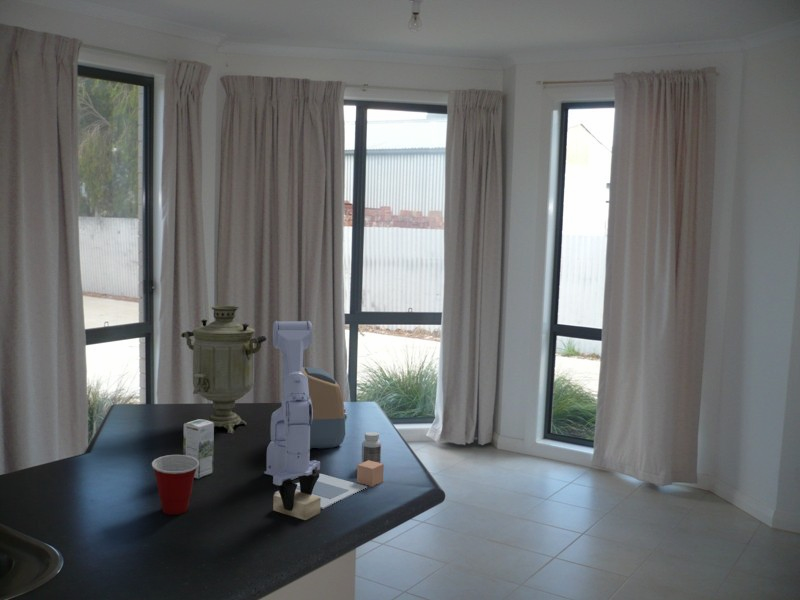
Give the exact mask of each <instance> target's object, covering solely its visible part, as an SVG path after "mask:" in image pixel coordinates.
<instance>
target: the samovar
mask: <svg viewBox="0 0 800 600" xmlns="http://www.w3.org/2000/svg"><path fill="white" fill-rule="evenodd" d="M210 308H211V310H212V311H213V317H214V319H215V321H212V322H210V323H208V325H207V322H208V319H204V318H203V319H202V320H200V322H201V324H202V326H198V327H196V328H193V329H192V331H189V330H187V331H186V332H182V333H181V335H180V336H181V338H185V339H186V345H187V346H188V348H189V349H190V350H192V353H193V354H192V360H193V362H192V363H193V364H192V384H193V388H194V389H193V392H192V394H194V395H196V394H199V395H200V396H201V397H202V398H204V399H206V400H208V401H210V402H212V408H213V409H215V410H216V412H214V413H212V414H211V416H209V417H208V418H207V419H206V420H207V421H210V422H213V423H214V428H215V427H218V428H221V427H224V428H225V429H226V430H227V434H234V433H235V432H234V431H235V430H234V427H235V425H239V424H244V425H245V426H246V425H247V422H246V421H245V420H242V418H241V416H240V415H238V414H237V413H236V412H235V411H234V412H233V411H232V409H234V408H235V407H236V401H237V400H239V399H241V398H243V397H245V395H246V394H248V393H249V392H250V391H251V390H252V388H253V386H254V382H255V380H254V375H255V374H254V371H255V369H254V368H255V367H254V365H255V363H254V362H255V354H256V353H258V352H259V351H260V350H261V348H262V343H263V342H266V341H267V337H266V336H264V335H262V336H261V335H260V336H257V338H254V336H255V332H256V329H254V328H253V327H249V324H248V323H242V325H241V324H239V323H238V322H237V321H234V319H235V317H236V311H237V310H238V309H239V307H238V306H235V305H214V306H210ZM191 337H194V339H195V340H194V342H193V344H192V338H191ZM255 344H256V346H255ZM233 432H234V433H233Z"/></svg>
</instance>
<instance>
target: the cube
mask: <svg viewBox="0 0 800 600" xmlns="http://www.w3.org/2000/svg"><path fill="white" fill-rule="evenodd" d="M357 482H358V483H357ZM383 482H384V463H378V462H374V461H370V460H368V461H365V462H363V463H362V462H361V463H359V464H357V472H356V483H357V484H360V483H362V484H361V485H363V484H366V485H365V486H367V485H369V486H368V487H371V486H373V487H375V486H377V485H379V484H381V483H383ZM376 484H377V485H376ZM374 485H375V486H374Z"/></svg>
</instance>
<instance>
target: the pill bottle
mask: <svg viewBox="0 0 800 600" xmlns="http://www.w3.org/2000/svg"><path fill="white" fill-rule="evenodd" d="M379 438H380V433H379V432H376V431H367V432H364V440H362V443H361V463H363V462H365V461H368V460H370V461H374V462H378V463H381V457H382V455H381V454H382V453H381V452H382V442H381V441H380V440H379Z"/></svg>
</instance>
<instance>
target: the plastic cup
mask: <svg viewBox="0 0 800 600" xmlns="http://www.w3.org/2000/svg"><path fill="white" fill-rule="evenodd" d="M151 466H152V469H153V470H154V474H155V479H156V484H157V485H156V486H157V489H158V490H157V491H158V496H159V500H160V504H161V509H162V512H163V513H164V514H165V515H173V516H174V515H180V514H183V513H185V512H187V511H188V510H189V506H190V499H191V495H192V491H193V486H194V479H195V478H194V475H195V471H196V468H197V467H198V466H199V461H198V460H197V459H195V458H194V457H190V456H186V455H183V454H169V455H168V454H167V455H164V456H160V457H158V458H155V459H153V461H152V462H151Z"/></svg>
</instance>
